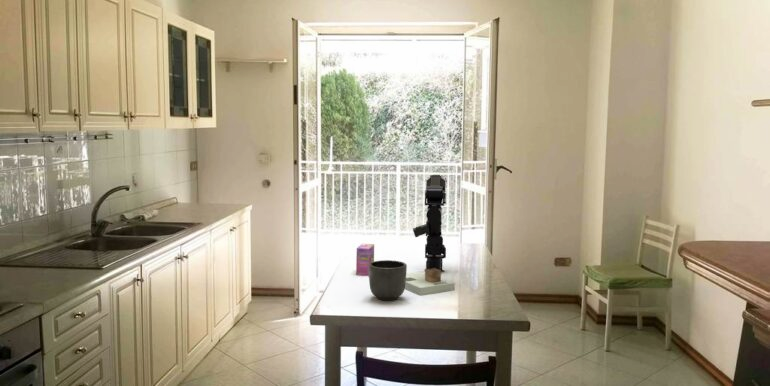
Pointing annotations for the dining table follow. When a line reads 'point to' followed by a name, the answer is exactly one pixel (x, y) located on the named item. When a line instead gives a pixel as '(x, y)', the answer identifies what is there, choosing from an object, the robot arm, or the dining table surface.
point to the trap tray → (425, 284)
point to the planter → (387, 279)
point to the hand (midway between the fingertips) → (433, 257)
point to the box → (364, 258)
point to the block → (432, 275)
